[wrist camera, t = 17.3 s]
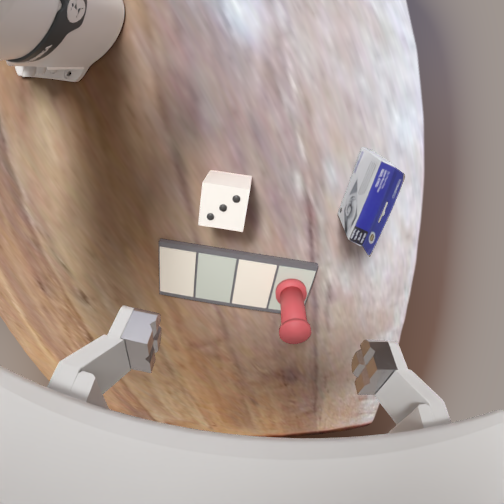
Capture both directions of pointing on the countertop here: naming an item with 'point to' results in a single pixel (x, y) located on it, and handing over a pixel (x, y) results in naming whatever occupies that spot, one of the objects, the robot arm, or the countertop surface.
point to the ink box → (369, 198)
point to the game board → (227, 275)
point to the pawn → (293, 311)
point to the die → (224, 200)
